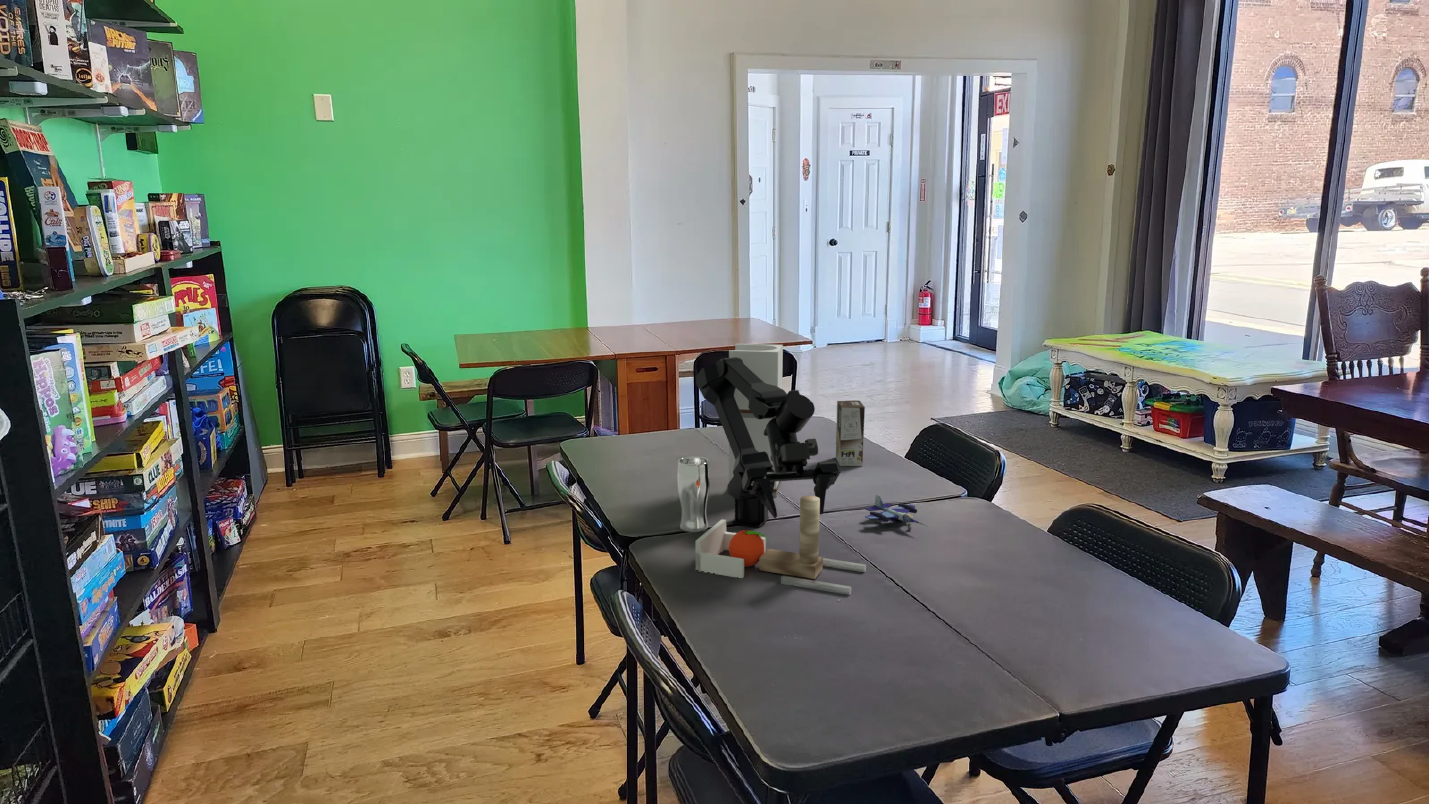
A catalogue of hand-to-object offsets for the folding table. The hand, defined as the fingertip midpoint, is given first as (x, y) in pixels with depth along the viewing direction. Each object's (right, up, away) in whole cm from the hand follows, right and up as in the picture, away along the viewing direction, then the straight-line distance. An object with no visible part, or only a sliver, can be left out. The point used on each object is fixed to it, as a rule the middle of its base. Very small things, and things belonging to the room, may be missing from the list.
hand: (798, 515), depth 175 cm
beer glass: (-21, -6, +22) cm, 31 cm away
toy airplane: (+23, -5, +23) cm, 33 cm away
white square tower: (-6, 0, +48) cm, 49 cm away
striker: (-2, -10, -1) cm, 10 cm away
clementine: (-9, -10, +2) cm, 14 cm away
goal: (-12, -10, +3) cm, 16 cm away
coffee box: (+20, +5, +71) cm, 74 cm away
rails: (+4, -11, -4) cm, 12 cm away
